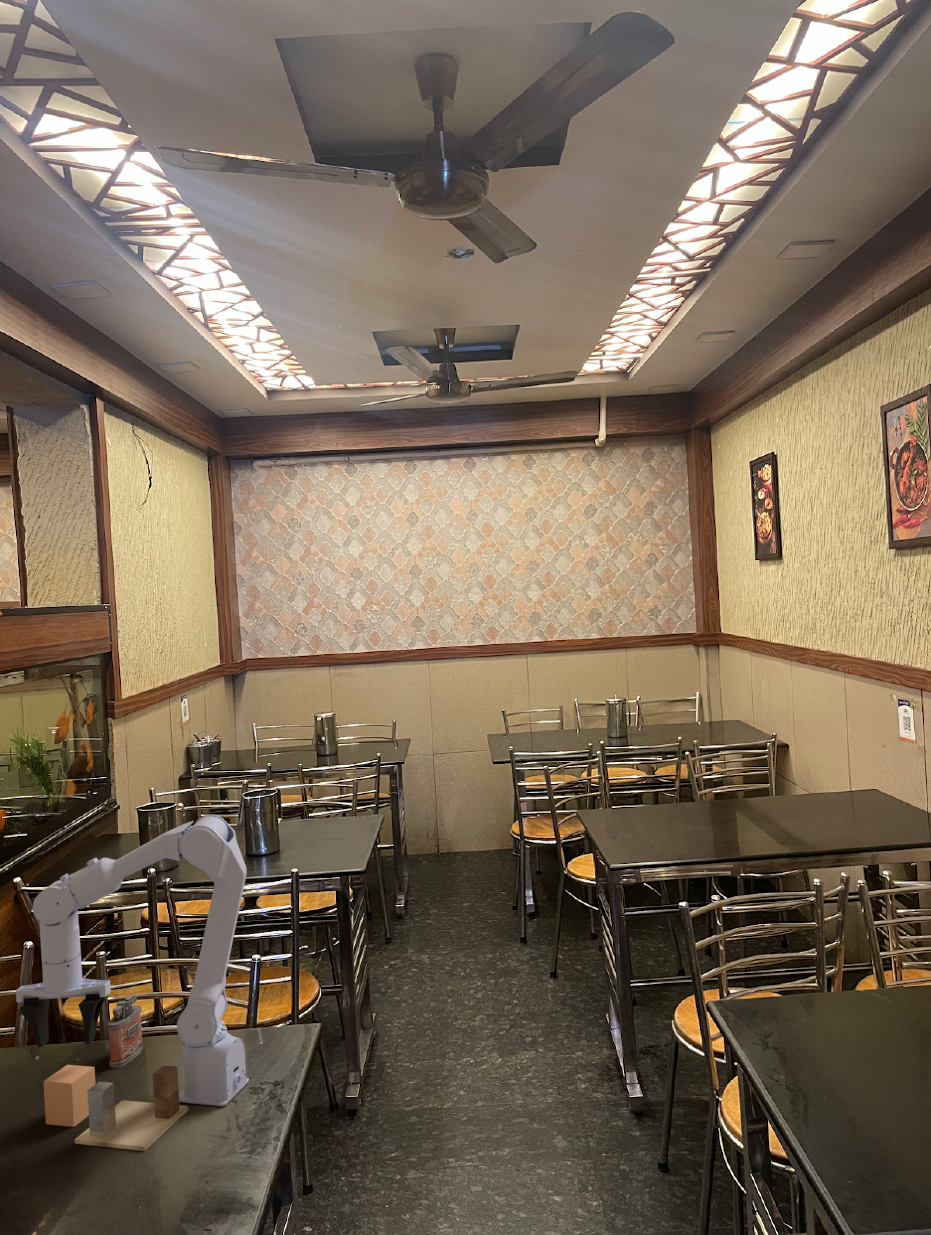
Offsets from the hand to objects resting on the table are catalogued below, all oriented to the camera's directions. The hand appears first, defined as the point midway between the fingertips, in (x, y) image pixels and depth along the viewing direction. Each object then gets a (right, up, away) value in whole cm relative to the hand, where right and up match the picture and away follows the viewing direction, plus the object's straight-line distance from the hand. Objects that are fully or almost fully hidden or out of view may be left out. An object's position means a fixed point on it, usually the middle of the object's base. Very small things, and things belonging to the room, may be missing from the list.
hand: (66, 1042), depth 141 cm
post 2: (+18, -9, -5) cm, 21 cm away
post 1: (+10, -9, -9) cm, 17 cm away
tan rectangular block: (+2, -10, -3) cm, 11 cm away
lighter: (+3, -11, +16) cm, 20 cm away
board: (+13, -9, -7) cm, 18 cm away
